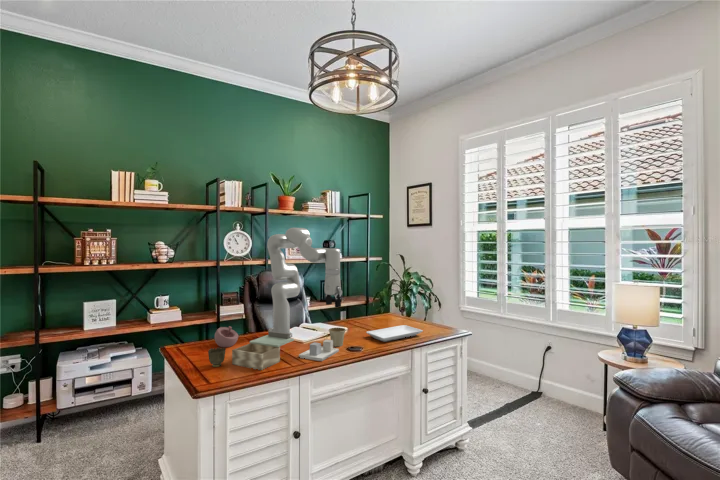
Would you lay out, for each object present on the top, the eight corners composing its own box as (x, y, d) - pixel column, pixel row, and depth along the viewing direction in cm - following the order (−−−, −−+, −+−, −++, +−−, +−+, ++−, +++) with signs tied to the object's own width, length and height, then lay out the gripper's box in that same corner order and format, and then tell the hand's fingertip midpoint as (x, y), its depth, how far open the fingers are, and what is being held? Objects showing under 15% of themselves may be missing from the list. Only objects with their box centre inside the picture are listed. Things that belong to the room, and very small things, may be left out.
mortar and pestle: (230, 351, 191) (230, 329, 191) (209, 350, 193) (209, 328, 193) (242, 344, 202) (242, 323, 202) (222, 343, 205) (222, 323, 205)
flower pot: (343, 348, 196) (343, 332, 196) (326, 347, 198) (326, 331, 198) (347, 343, 205) (347, 327, 205) (331, 342, 207) (331, 327, 207)
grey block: (309, 354, 182) (309, 344, 182) (314, 352, 185) (313, 342, 185) (316, 355, 180) (316, 345, 180) (320, 353, 184) (320, 343, 184)
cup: (211, 364, 170) (211, 347, 170) (227, 364, 171) (227, 346, 171) (205, 370, 163) (205, 352, 163) (222, 369, 163) (222, 351, 163)
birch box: (232, 365, 169) (232, 349, 169) (251, 357, 181) (251, 342, 181) (261, 370, 162) (261, 354, 162) (279, 361, 174) (279, 346, 174)
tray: (423, 335, 223) (423, 329, 223) (383, 344, 205) (383, 337, 205) (404, 330, 237) (404, 324, 237) (365, 337, 219) (365, 331, 219)
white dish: (298, 357, 180) (298, 354, 180) (317, 348, 196) (317, 345, 196) (321, 361, 175) (321, 358, 175) (338, 351, 190) (338, 348, 190)
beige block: (323, 351, 187) (323, 341, 187) (325, 349, 191) (325, 339, 191) (330, 352, 186) (330, 342, 186) (333, 349, 190) (333, 340, 190)
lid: (249, 343, 180) (249, 336, 180) (266, 336, 191) (266, 330, 191) (277, 347, 173) (277, 340, 173) (294, 340, 184) (294, 333, 184)
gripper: (318, 271, 195) (319, 304, 195) (334, 273, 181) (334, 308, 180) (331, 271, 199) (331, 303, 199) (347, 273, 185) (348, 307, 184)
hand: (333, 305), depth 190 cm, fingers open, 9 cm apart
